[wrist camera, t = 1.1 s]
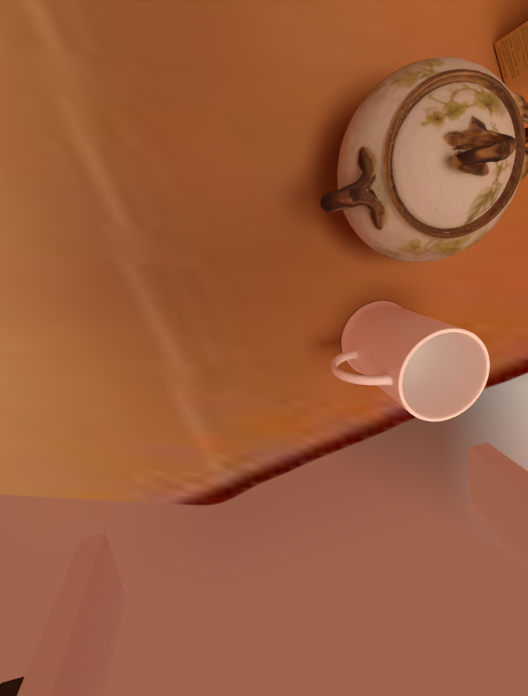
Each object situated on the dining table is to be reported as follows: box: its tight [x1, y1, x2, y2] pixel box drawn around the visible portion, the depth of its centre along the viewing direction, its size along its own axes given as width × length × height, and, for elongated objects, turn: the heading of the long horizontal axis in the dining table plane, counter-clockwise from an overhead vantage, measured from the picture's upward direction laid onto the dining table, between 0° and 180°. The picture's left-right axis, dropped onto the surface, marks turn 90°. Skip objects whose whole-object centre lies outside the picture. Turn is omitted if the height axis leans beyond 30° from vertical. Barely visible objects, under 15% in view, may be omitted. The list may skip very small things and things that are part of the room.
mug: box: [331, 301, 490, 421], centre depth 34 cm, size 12×8×12 cm
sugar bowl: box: [321, 57, 528, 263], centre depth 29 cm, size 20×15×15 cm
